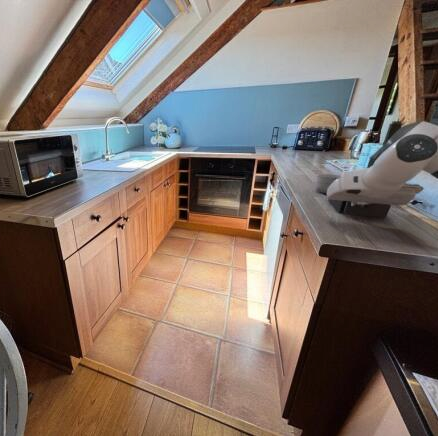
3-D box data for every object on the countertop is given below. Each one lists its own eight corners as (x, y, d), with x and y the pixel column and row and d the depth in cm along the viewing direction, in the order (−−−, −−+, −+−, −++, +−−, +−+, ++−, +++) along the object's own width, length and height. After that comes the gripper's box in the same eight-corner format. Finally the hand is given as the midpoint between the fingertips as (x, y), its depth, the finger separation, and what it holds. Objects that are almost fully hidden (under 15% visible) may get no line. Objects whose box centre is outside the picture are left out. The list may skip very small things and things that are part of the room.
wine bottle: (356, 194, 107) (380, 121, 95) (382, 197, 102) (410, 121, 91) (357, 199, 101) (383, 121, 89) (384, 202, 96) (415, 121, 85)
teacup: (310, 192, 110) (314, 175, 107) (315, 187, 118) (319, 171, 115) (348, 198, 102) (354, 180, 98) (351, 193, 109) (357, 175, 106)
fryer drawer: (387, 219, 79) (396, 196, 76) (345, 215, 83) (352, 193, 80) (369, 205, 91) (376, 185, 88) (333, 202, 96) (339, 182, 93)
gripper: (426, 175, 66) (395, 199, 79) (336, 171, 74) (321, 193, 86) (429, 196, 64) (397, 216, 76) (336, 189, 72) (320, 209, 84)
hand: (356, 204), depth 81 cm, fingers closed, pressing on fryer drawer
